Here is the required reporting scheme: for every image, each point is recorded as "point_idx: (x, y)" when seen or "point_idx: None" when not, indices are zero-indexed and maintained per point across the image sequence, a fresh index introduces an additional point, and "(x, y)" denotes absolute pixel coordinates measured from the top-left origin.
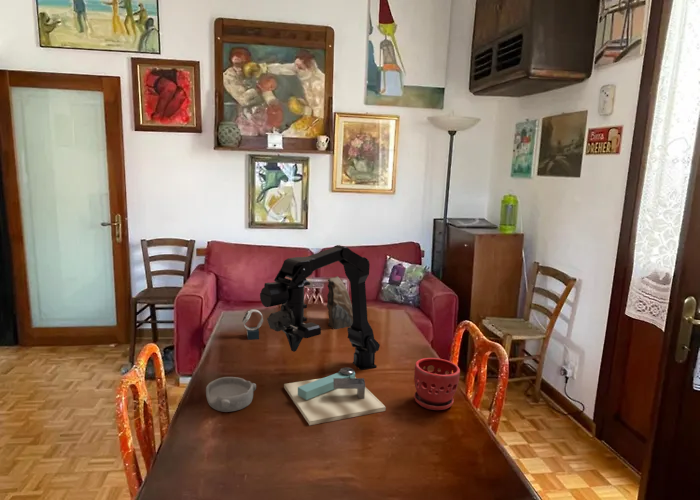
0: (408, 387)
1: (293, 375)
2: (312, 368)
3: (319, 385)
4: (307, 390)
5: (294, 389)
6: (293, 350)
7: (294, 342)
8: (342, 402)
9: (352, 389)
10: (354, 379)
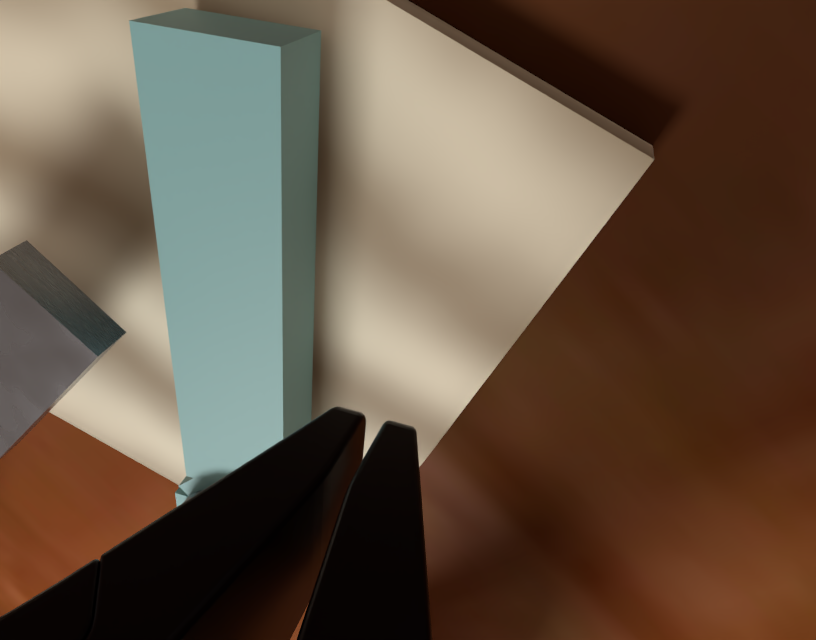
0: (71, 559)
1: (744, 403)
2: (672, 565)
3: (178, 234)
4: (153, 60)
5: (465, 130)
6: (315, 419)
7: (81, 578)
8: (30, 204)
9: (156, 400)
10: (2, 421)
